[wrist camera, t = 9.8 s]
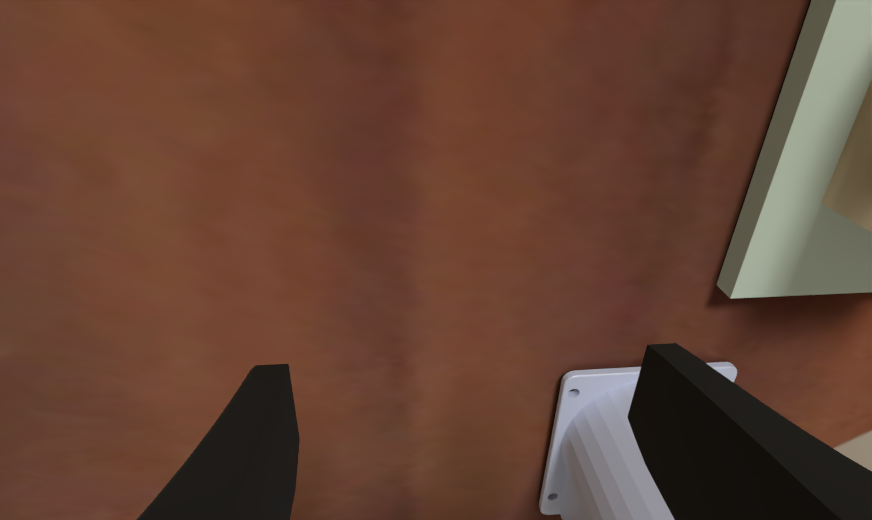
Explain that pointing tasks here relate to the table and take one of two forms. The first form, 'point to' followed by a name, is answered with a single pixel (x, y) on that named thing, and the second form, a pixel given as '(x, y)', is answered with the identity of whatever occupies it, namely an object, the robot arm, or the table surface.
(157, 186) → the table surface
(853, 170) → the collar block
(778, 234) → the pin base
